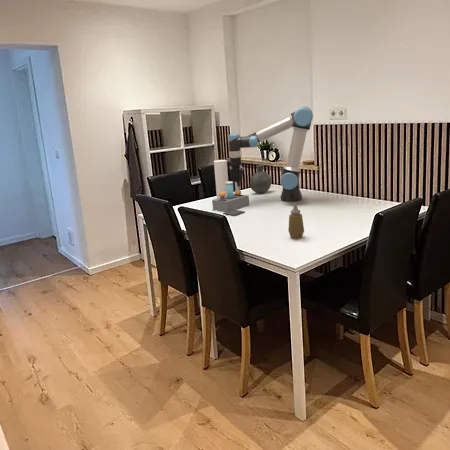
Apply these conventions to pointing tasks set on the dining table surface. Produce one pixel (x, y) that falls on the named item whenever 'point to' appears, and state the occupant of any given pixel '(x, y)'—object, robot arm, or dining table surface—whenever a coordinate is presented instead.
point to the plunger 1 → (222, 196)
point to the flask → (260, 181)
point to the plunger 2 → (237, 193)
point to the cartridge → (229, 190)
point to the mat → (234, 212)
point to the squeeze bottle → (295, 223)
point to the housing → (230, 203)
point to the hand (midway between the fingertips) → (237, 191)
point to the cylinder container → (221, 176)
